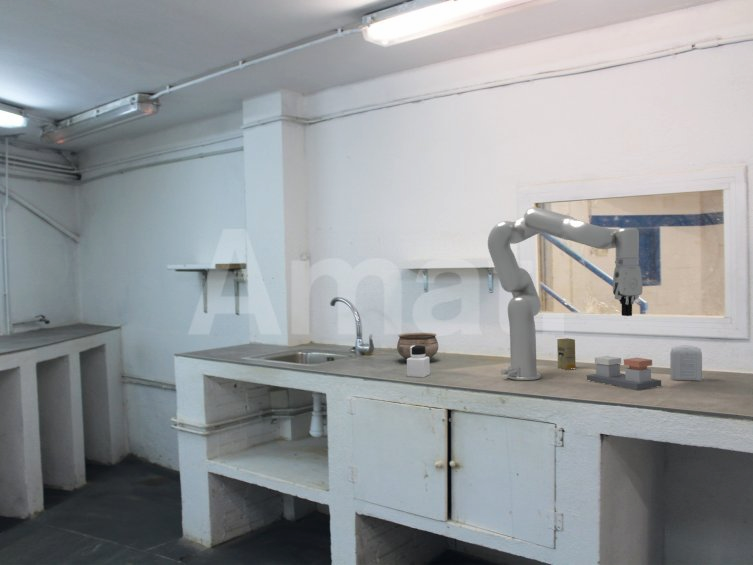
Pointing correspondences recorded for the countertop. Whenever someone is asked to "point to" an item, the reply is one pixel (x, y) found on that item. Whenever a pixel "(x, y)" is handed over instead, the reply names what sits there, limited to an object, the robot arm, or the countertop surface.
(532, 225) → the robot arm
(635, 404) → the countertop surface
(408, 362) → the medicine bottle
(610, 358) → the white plunger
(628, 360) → the salmon pink block
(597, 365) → the block
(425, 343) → the cooking pot
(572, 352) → the shoe polish box
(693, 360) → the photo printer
